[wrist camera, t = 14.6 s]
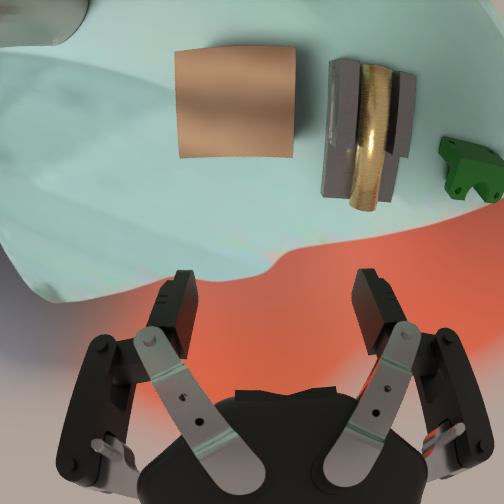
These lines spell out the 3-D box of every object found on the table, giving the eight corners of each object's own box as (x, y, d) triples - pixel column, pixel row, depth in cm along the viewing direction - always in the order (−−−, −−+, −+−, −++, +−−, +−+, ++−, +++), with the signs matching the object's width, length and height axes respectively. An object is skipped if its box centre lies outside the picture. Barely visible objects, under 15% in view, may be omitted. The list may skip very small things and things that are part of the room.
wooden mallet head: (195, 59, 24) (174, 51, 18) (287, 57, 24) (295, 47, 17) (197, 142, 29) (179, 158, 23) (286, 142, 29) (292, 157, 23)
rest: (329, 61, 23) (338, 58, 20) (401, 76, 23) (417, 76, 20) (320, 192, 32) (327, 205, 29) (386, 197, 32) (398, 211, 29)
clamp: (427, 162, 33) (434, 194, 27) (436, 127, 28) (448, 152, 23) (490, 186, 29) (505, 222, 23) (502, 155, 24) (523, 186, 19)
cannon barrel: (357, 64, 22) (370, 63, 19) (383, 70, 22) (398, 70, 19) (345, 199, 31) (355, 211, 28) (369, 200, 31) (380, 211, 28)
